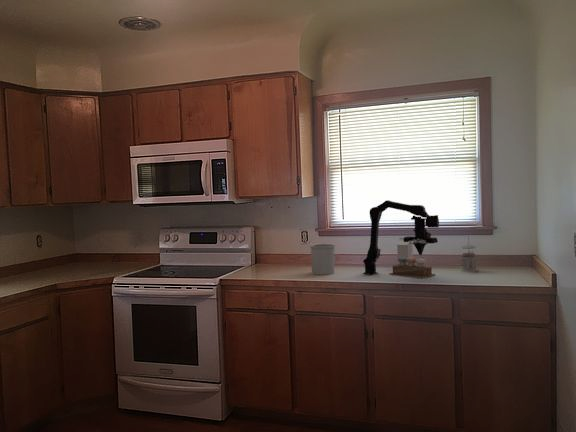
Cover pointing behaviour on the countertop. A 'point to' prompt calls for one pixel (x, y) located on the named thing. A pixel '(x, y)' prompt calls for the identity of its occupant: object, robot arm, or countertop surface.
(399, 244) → the milk carton
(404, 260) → the knob
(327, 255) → the utensil holder
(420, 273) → the mount
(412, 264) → the knob mid
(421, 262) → the knob
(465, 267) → the french press
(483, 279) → the countertop surface
